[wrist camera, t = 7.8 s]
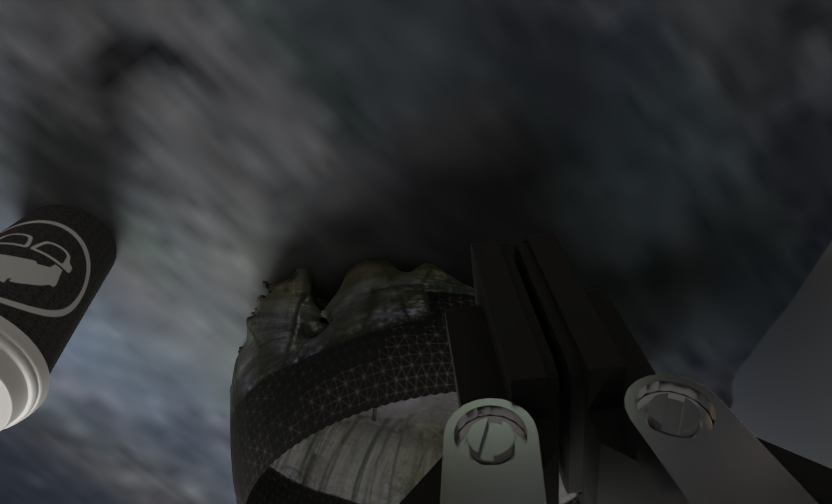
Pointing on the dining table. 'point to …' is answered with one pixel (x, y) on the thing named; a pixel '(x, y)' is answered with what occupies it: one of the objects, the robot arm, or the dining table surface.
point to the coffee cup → (44, 298)
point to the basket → (346, 388)
